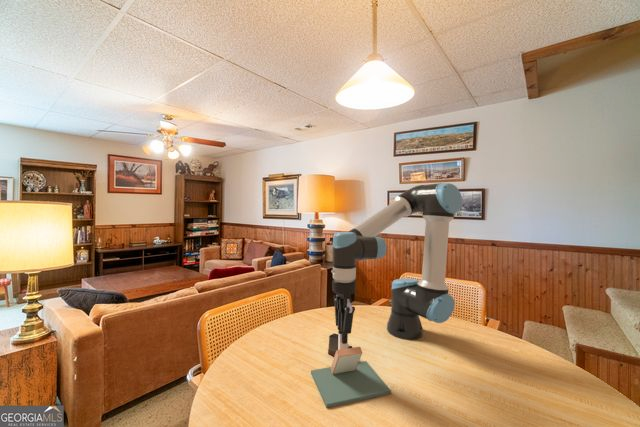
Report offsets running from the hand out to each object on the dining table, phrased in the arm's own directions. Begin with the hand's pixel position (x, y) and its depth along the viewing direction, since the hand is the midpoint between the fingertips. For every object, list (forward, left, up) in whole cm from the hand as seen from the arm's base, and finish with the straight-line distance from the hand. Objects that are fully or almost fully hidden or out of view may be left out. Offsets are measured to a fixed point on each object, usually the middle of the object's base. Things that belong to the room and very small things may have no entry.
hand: (342, 351), depth 89 cm
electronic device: (-3, -10, -8) cm, 13 cm away
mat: (0, +5, -8) cm, 9 cm away
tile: (0, 0, -6) cm, 6 cm away
